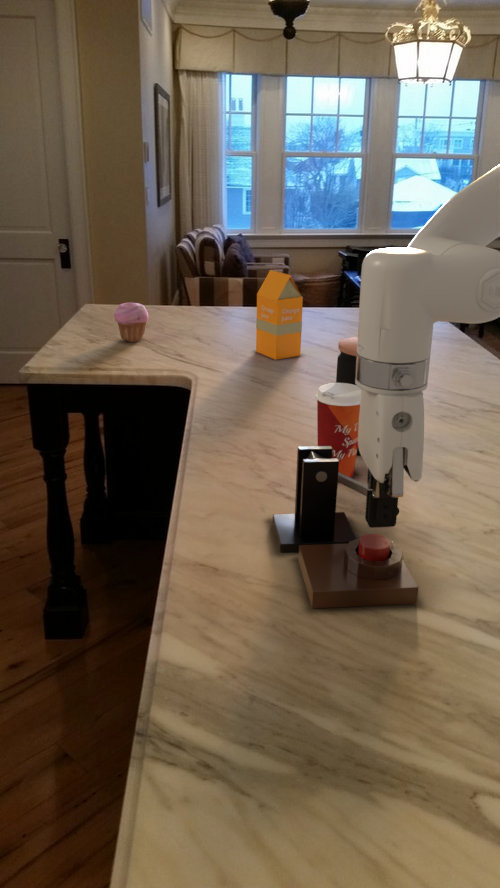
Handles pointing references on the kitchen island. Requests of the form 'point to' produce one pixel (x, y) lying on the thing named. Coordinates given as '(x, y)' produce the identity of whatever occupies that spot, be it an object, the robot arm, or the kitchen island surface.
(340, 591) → the button block
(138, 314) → the cupcake
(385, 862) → the kitchen island surface
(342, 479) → the tap lever
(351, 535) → the bracket
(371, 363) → the robot arm
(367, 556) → the button
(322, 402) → the paper cup
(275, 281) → the orange juice
